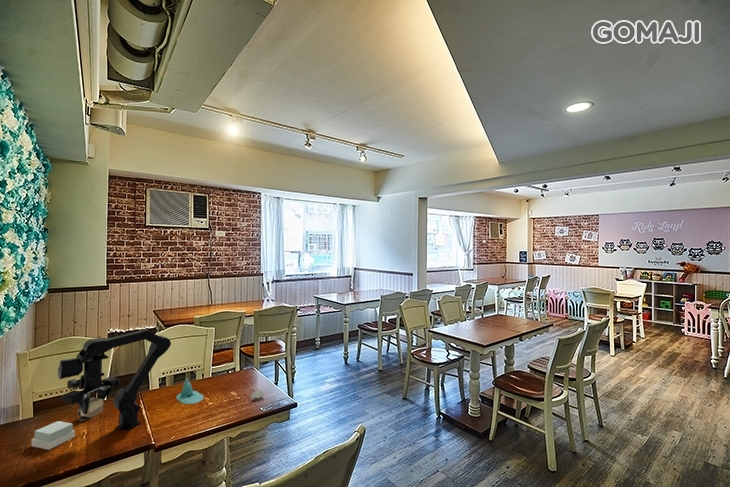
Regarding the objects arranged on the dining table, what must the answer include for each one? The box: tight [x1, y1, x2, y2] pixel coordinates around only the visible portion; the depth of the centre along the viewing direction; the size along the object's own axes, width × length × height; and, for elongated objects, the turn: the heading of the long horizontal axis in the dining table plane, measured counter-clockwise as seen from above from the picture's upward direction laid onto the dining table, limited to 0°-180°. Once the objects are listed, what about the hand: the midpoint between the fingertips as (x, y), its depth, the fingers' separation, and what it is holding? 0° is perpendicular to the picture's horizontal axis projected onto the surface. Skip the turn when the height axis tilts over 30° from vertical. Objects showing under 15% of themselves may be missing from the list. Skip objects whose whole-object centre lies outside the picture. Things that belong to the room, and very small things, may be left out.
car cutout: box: [250, 390, 265, 401], centre depth 171 cm, size 15×7×4 cm, turn 115°
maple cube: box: [79, 397, 104, 418], centre depth 135 cm, size 5×5×5 cm
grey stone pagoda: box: [77, 393, 94, 422], centre depth 151 cm, size 6×6×12 cm
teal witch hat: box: [176, 377, 204, 405], centre depth 173 cm, size 12×20×9 cm, turn 47°
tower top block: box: [34, 420, 74, 442], centre depth 133 cm, size 8×8×3 cm
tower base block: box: [31, 429, 76, 451], centre depth 133 cm, size 9×9×3 cm
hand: (91, 410), depth 135 cm, fingers closed on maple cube, 5 cm apart
